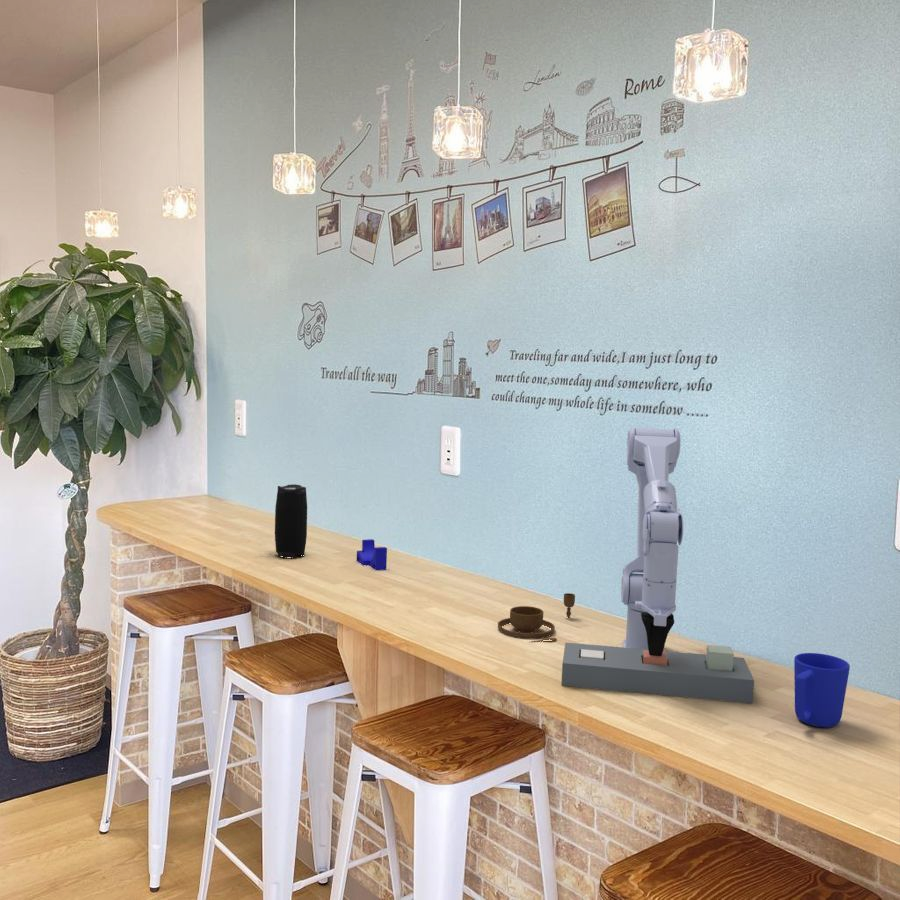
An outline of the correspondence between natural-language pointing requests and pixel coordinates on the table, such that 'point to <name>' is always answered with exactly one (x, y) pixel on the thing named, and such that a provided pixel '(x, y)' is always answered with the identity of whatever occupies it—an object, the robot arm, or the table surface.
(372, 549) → the blue blocky piece
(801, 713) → the mug
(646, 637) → the robot arm
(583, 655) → the white cube
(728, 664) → the sage button
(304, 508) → the portable speaker
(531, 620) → the place setting
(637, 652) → the button panel
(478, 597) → the table surface
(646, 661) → the terracotta button
